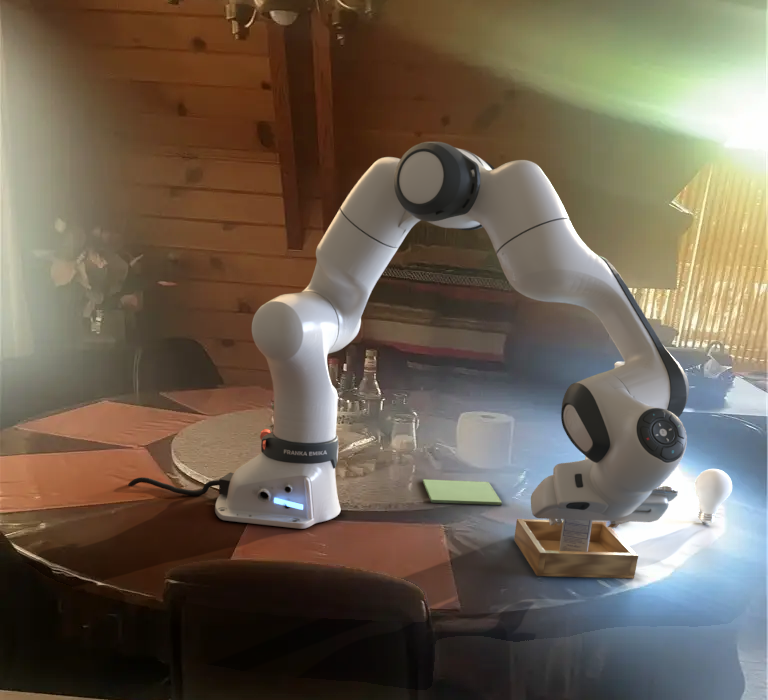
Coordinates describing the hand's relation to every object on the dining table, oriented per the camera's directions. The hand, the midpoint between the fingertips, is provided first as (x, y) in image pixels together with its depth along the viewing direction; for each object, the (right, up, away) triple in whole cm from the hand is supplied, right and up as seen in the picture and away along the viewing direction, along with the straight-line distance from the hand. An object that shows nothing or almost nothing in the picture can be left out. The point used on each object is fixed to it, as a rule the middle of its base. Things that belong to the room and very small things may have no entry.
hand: (581, 522), depth 122 cm
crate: (-1, -6, +4) cm, 8 cm away
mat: (-16, +4, +31) cm, 35 cm away
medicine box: (-1, -6, +4) cm, 7 cm away
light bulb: (+30, -2, +25) cm, 39 cm away
